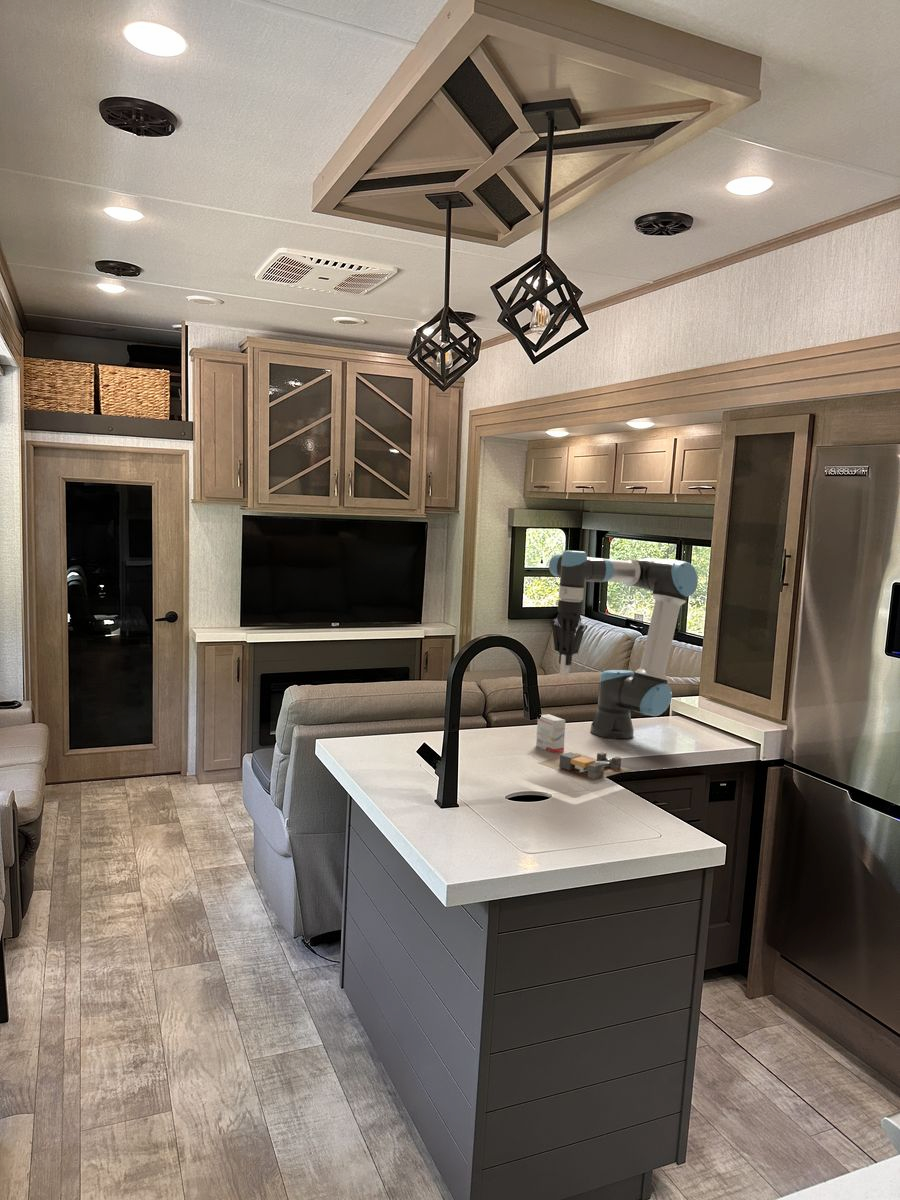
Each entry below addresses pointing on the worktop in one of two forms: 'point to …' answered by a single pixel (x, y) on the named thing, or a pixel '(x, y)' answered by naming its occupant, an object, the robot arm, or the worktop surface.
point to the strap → (606, 762)
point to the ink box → (550, 733)
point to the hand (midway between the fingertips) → (564, 674)
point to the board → (579, 772)
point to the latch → (574, 761)
